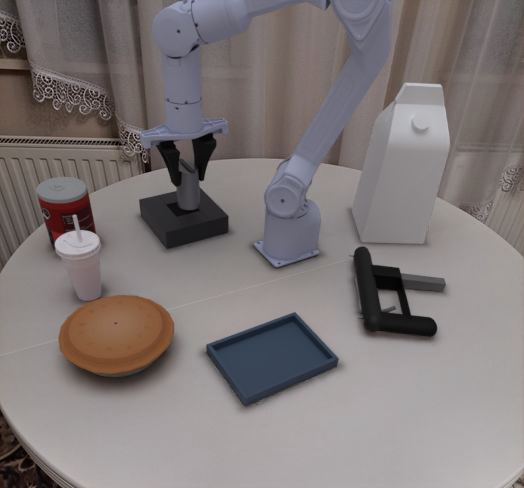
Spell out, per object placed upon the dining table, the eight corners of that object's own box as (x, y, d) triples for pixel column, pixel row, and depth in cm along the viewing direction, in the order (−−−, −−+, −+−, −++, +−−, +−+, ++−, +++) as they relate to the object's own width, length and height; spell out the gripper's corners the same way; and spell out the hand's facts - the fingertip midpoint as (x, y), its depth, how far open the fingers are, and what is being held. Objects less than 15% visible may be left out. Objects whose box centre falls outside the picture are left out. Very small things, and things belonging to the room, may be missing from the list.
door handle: (438, 254, 90) (349, 243, 89) (466, 332, 76) (360, 320, 75) (431, 269, 92) (344, 259, 91) (457, 347, 78) (354, 336, 77)
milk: (409, 212, 104) (449, 74, 86) (423, 243, 96) (471, 99, 78) (351, 210, 104) (379, 71, 85) (361, 242, 96) (394, 96, 77)
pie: (81, 310, 78) (74, 284, 74) (182, 316, 78) (180, 290, 75) (48, 386, 67) (38, 360, 64) (166, 393, 67) (162, 368, 64)
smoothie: (100, 309, 78) (82, 230, 68) (61, 302, 79) (37, 223, 69) (116, 284, 83) (102, 207, 73) (79, 278, 83) (60, 200, 73)
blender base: (199, 201, 103) (198, 185, 100) (228, 232, 95) (228, 215, 93) (140, 215, 98) (138, 199, 95) (167, 249, 90) (165, 232, 88)
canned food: (62, 230, 93) (47, 173, 85) (105, 236, 92) (94, 179, 84) (44, 254, 87) (26, 196, 79) (89, 260, 87) (76, 202, 79)
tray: (294, 319, 79) (295, 311, 78) (337, 366, 73) (339, 358, 71) (206, 352, 73) (206, 344, 72) (244, 406, 67) (245, 398, 65)
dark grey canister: (192, 195, 92) (190, 156, 87) (205, 208, 89) (204, 169, 84) (172, 200, 91) (169, 160, 86) (184, 214, 88) (182, 174, 83)
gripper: (213, 82, 83) (215, 163, 92) (128, 95, 77) (138, 179, 87) (234, 97, 78) (233, 180, 88) (145, 111, 73) (154, 198, 82)
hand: (187, 181), depth 87 cm, fingers closed on dark grey canister, 4 cm apart
